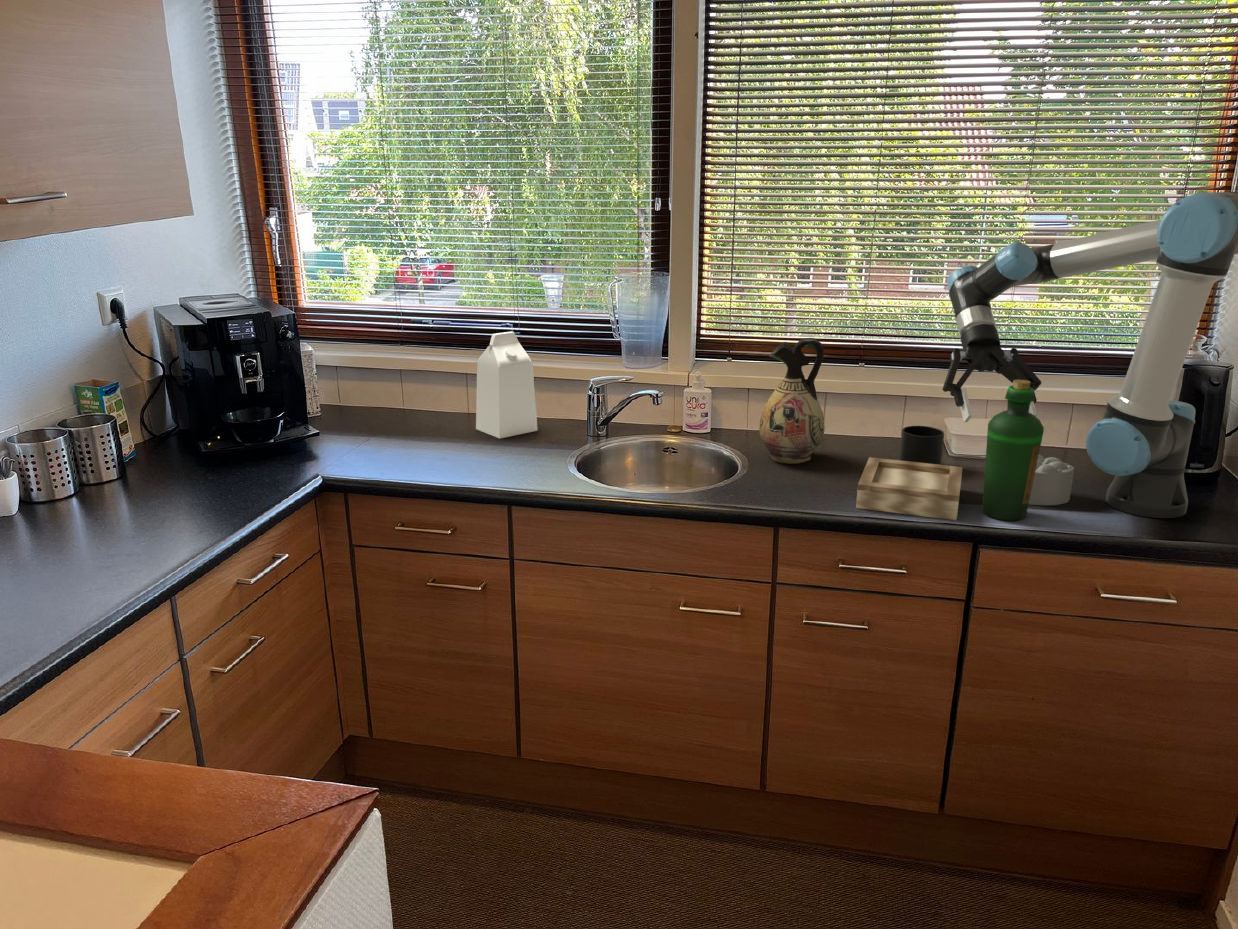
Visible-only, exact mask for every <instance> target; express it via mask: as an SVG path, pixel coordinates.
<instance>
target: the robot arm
mask: <svg viewBox="0 0 1238 929" xmlns="http://www.w3.org/2000/svg"><path fill="white" fill-rule="evenodd" d="M1236 254H1237V255H1238V191H1222V192H1219V191H1217V192H1212V191H1211V192H1209V191H1203V192H1197V193H1194V194H1191V195H1188V196H1185V197H1183V198H1181V199H1178V200H1177V201H1176V202H1174V203H1173V204H1172V205H1170V207H1168V209H1167V210H1166V211H1165V212H1164V213H1163V215H1162V216H1161V218H1160V219H1157V220H1152V221H1149V222H1148V221H1147V222H1144V223H1138V224H1135V225H1130V226H1126V227H1122V228H1118V229H1114V230H1108V231H1105V232H1100V233H1096V234H1091V235H1087V236H1083V237H1078V238H1074V239H1070V240H1069V239H1068V240H1067V241H1066V240H1065V241H1061V242H1057V243H1052V244H1047V245H1044V246H1038V247H1032V248H1031V247H1030V245H1028V244H1026V243H1023V242H1022V241H1013V242H1011V243H1010V244H1008V245H1007V246H1005V247H1003V248H1001V249H1000V250H999V251H998V252H997V253H996V254H994V255H992V257H990V258H989V259H987V260H986V261H985V262H983V263H982V264H981V265H979V266H978V267H977V266H975V265H965V266H962V267H961V268H957V269H954V270H953V271H952V272H951V273H950V274H949V275H948V277H947V281H946V282H947V290H948V297H949V299H950V302H951V306H952V309H953V312H954V316H955V321H956V326H957V330H958V335H959V337H960V339H959V340H960V343H961V347H962V350H963V351H962V350H960V349H959V348H954V350H953V351H952V353H951V354H950V365H949V367H948V371H947V374H946V377H945V380H944V383H943V387H942V391H943V392H945V393H947V392H949V394H950V396H951V397H953V399H954V403H955V406H956V407H959V408H960V412H961V416H962V420H963V423H968V422H969V421H970V419H971V418H972V417H973V413H972V408H971V404H970V401H969V397H968V393H967V388H964V387H963V386H964V384H966V382H967V380H968V378H969V377H970V376H971V374H972V373H973V371H978V372H981V373H982V372H994V371H995V373H997V374H998V375H1002V376H1003V377H1004V378H1005V379H1007V380H1008V381H1009V382H1010V383H1012V384H1013V380H1027V381H1030V386H1029V387H1031V388H1033V392H1034V401H1033V402H1031V403H1030V407H1029V413H1031V414H1033V415H1034V416H1035V417H1037V415H1038V412H1037V410H1036V406H1035V404H1036V403H1037V401H1038V400H1037V397H1036V393H1035V391H1037V389H1038V388H1039V387H1040V386H1041V385H1042V381H1041V380H1040V378H1038V376H1037V375H1036V374H1035V373H1034V371H1033V370H1032V369H1031V368H1030V366H1029V365H1028V364H1027V363H1026V361H1024V360H1023V359H1022V358H1021V356H1020V353H1019V352H1018V349H1017V348H1016V347H1011V349H1010V350H1003V348H1002V346H1001V340H1000V336H999V332H998V329H997V327H996V321H995V317H994V315H993V311H992V305H991V301H993V300H995V299H996V298H997V297H999V296H1000V295H1002V294H1003V293H1004V292H1007V291H1008V290H1009V289H1011V288H1012V287H1018V286H1026V285H1030V284H1032V285H1033V284H1041V283H1047V282H1051V281H1054V280H1058V279H1062V278H1069V277H1072V276H1078V275H1082V274H1083V275H1084V274H1088V273H1094V272H1097V271H1098V272H1099V271H1104V270H1109V269H1114V268H1119V267H1123V266H1124V267H1125V266H1129V265H1134V264H1140V263H1144V262H1151V261H1156V262H1155V264H1156V265H1157V267H1158V269H1159V270H1160V274H1161V275H1160V278H1159V280H1158V282H1157V283H1158V284H1157V286H1156V288H1155V292H1154V294H1153V297H1152V301H1151V304H1150V305H1149V309H1148V312H1147V315H1146V318H1145V321H1144V324H1143V326H1142V329H1141V332H1140V334H1139V337H1138V340H1137V344H1136V346H1135V349H1134V353H1133V355H1132V358H1131V360H1130V364H1129V366H1128V369H1127V372H1126V375H1125V378H1124V381H1123V384H1122V386H1121V390H1120V392H1119V393H1118V394H1116V395H1113V396H1111V397H1110V398H1109V399H1108V401H1107V404H1106V407H1105V410H1104V412H1103V415H1102V418H1101V420H1099V421H1097V422H1095V423H1094V425H1092V427H1091V428H1090V429H1089V431H1088V433H1087V436H1086V439H1085V447H1086V452H1087V454H1088V456H1089V457H1090V460H1091V461H1092V463H1093V464H1094V465H1095V466H1096V467H1097V468H1098V469H1099V470H1100V471H1102V472H1104V473H1106V474H1107V475H1108V474H1109V475H1112V476H1114V478H1113V479H1112V481H1111V483H1110V484H1109V487H1107V491H1106V496H1105V497H1106V498H1105V502H1106V504H1108V505H1109V506H1110V507H1111V508H1114V509H1116V510H1118V511H1121V512H1124V513H1127V514H1131V515H1135V516H1139V517H1146V518H1155V519H1174V518H1180V517H1183V516H1184V515H1186V514H1187V511H1188V507H1189V498H1188V493H1187V487H1186V483H1185V469H1186V465H1187V461H1188V455H1189V449H1190V444H1191V440H1192V435H1193V430H1194V426H1195V424H1196V419H1195V418H1196V408H1195V407H1194V405H1192V404H1190V403H1188V402H1183V401H1179V400H1174V399H1171V398H1172V395H1173V393H1174V390H1175V388H1176V385H1177V383H1178V379H1179V377H1180V375H1181V372H1182V368H1183V367H1184V363H1185V361H1186V359H1187V355H1188V353H1189V350H1190V348H1191V345H1192V341H1193V339H1194V337H1195V335H1196V332H1197V328H1198V326H1199V323H1200V320H1201V317H1202V315H1203V313H1204V310H1205V307H1206V304H1207V302H1208V299H1209V297H1210V293H1211V291H1212V289H1213V286H1214V284H1216V283H1217V282H1219V281H1221V280H1222V279H1224V278H1226V277H1227V275H1228V273H1229V270H1230V268H1231V265H1232V262H1233V260H1234V258H1235V257H1234V256H1235V255H1236ZM963 359H964V361H965V362H966V363H968V364H969V365H968V367H967V368H966V369H965V371H964V373H963V374H962V375H961V377H960V378H959V379H958V381H957V382H956V383H954V380H955V378H956V374H957V371H958V368H959V365H960V362H961V361H962V360H963ZM1000 364H1001V365H1000ZM962 387H963V388H962Z"/></svg>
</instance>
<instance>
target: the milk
mask: <svg viewBox="0 0 1238 929" xmlns="http://www.w3.org/2000/svg"><path fill="white" fill-rule="evenodd" d="M489 342H490V343H489V345H488V346H487V347H486V349H485V350H484V351H483V353H481V355H480V356H479V357H478V360H477V364H476V401H475V402H476V405H475V406H476V408H475V411H476V412H475V430H476V431H479V432H482V433H485V434H487V435H490V436H492V437H494V438H497V439H504V438H509V437H513V436H518V435H523V434H527V433H532V432H537V431H538V418H537V404H536V390H535V379H534V378H535V377H534V366H533V361H532V360H531V357H530V355H528V353H527V351H526V350H525V349H524V348H523V346H522V345H521V342H519V340H518V337H517V335H516V333H515V332H514V331H506V332H505V331H504V332H498V333H497V332H496V333H492V334H491V337H490V341H489Z"/></svg>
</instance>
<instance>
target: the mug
mask: <svg viewBox="0 0 1238 929" xmlns="http://www.w3.org/2000/svg"><path fill="white" fill-rule="evenodd" d="M900 436H901V438H900V447H899V456H898V460H900V461H910V462H919V463H929V464H938V465H942V456H943V449H944V440H945V431H943V430H942V429H939V428H937V427H933V426H926V425H910V426H909V425H908V426H905V427H903V428H902V430H901V435H900Z"/></svg>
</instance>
